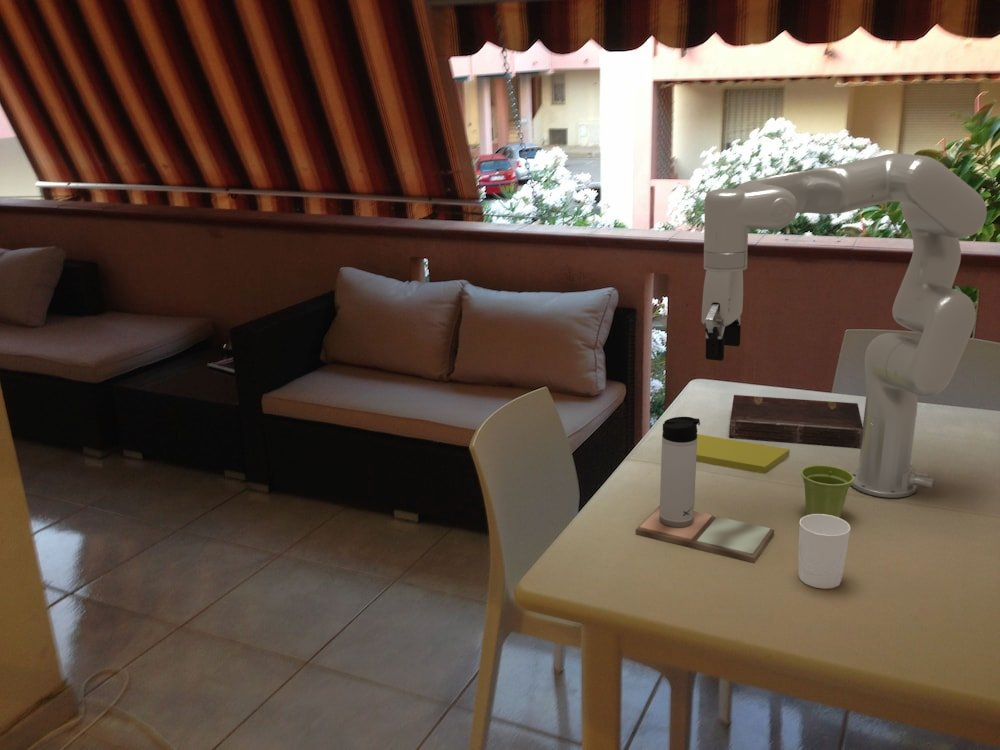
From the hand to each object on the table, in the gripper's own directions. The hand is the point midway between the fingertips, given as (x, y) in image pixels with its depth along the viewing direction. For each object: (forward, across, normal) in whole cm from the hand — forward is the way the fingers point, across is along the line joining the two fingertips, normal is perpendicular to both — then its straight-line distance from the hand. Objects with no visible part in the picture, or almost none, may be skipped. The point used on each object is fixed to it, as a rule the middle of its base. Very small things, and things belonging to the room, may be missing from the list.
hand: (723, 352), depth 170 cm
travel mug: (+30, +11, -4) cm, 32 cm away
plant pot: (+32, -6, +18) cm, 38 cm away
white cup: (+32, +18, +23) cm, 43 cm away
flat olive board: (+33, -27, -7) cm, 43 cm away
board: (+32, +11, +1) cm, 34 cm away
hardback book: (+34, -51, +2) cm, 61 cm away
